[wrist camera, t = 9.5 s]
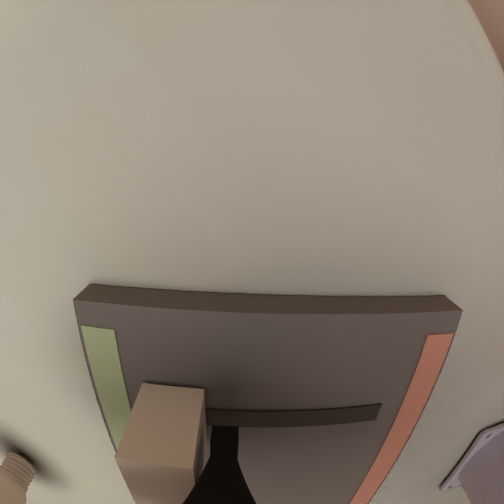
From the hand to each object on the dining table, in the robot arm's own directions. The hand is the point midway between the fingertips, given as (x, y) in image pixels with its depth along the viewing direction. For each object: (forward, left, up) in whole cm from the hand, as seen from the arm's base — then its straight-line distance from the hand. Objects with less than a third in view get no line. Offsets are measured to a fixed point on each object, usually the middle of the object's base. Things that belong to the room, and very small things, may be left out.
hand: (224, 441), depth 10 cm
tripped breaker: (+2, 0, -1) cm, 2 cm away
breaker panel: (-2, +10, -3) cm, 11 cm away
